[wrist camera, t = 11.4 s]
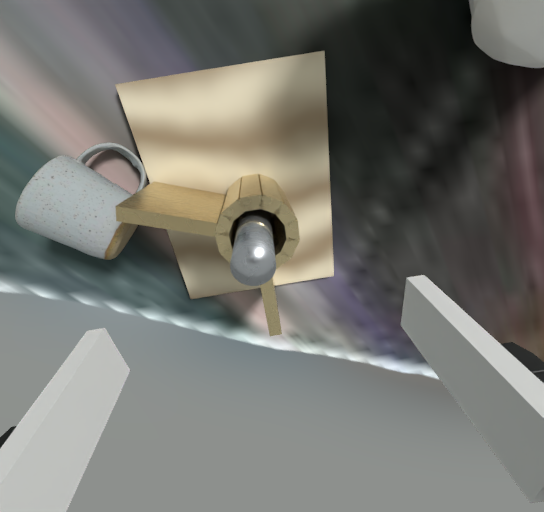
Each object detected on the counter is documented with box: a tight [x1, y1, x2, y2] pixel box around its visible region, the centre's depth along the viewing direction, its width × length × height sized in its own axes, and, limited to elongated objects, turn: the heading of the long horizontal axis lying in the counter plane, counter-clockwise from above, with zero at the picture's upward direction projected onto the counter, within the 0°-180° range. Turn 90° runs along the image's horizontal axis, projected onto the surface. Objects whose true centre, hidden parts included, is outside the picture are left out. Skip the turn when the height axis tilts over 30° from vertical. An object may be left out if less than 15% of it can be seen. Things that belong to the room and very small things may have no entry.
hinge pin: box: [230, 209, 276, 286], centre depth 24 cm, size 3×3×14 cm
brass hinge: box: [115, 174, 300, 336], centre depth 27 cm, size 15×14×9 cm
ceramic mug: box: [15, 143, 147, 260], centre depth 26 cm, size 11×8×8 cm
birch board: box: [115, 51, 334, 299], centre depth 30 cm, size 24×19×1 cm
